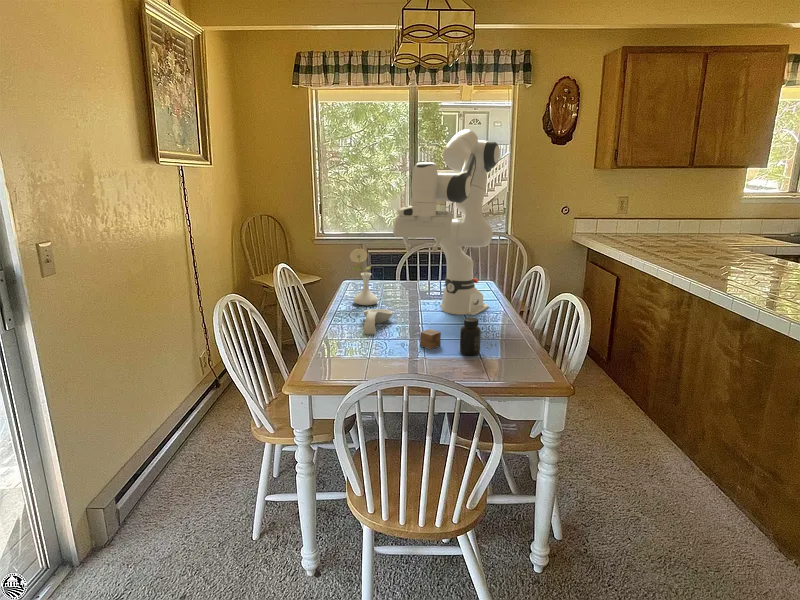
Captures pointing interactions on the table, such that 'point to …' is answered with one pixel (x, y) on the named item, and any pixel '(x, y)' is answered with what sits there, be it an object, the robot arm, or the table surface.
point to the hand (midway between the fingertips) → (421, 250)
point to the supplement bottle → (470, 337)
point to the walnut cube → (430, 338)
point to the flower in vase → (365, 295)
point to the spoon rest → (375, 319)
